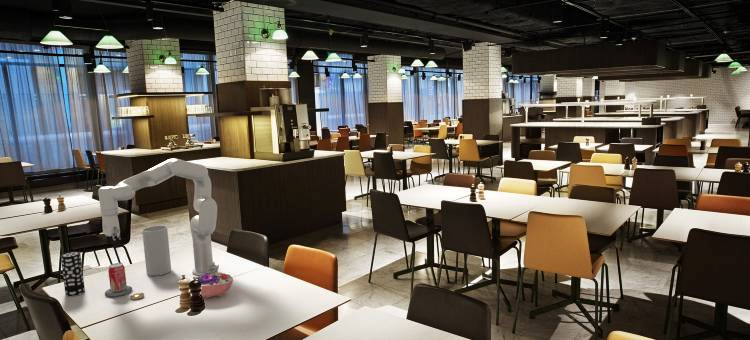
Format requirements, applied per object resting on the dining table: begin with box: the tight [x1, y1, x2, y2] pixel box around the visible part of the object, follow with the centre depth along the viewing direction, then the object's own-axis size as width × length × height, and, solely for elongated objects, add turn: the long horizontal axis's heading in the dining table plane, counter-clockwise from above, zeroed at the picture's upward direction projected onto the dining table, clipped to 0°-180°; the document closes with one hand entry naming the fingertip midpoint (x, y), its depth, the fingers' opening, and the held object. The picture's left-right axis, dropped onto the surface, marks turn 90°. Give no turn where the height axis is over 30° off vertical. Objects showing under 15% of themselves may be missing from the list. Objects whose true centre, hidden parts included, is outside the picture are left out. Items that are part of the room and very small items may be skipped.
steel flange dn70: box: [104, 285, 133, 298], centre depth 238 cm, size 12×12×2 cm
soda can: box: [107, 262, 128, 292], centre depth 237 cm, size 7×7×13 cm
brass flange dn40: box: [129, 292, 145, 301], centre depth 231 cm, size 6×6×1 cm
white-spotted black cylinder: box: [60, 251, 86, 297], centre depth 238 cm, size 8×8×20 cm
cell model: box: [195, 272, 234, 298], centre depth 230 cm, size 17×20×11 cm
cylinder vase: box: [141, 225, 172, 277], centre depth 264 cm, size 12×12×25 cm
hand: (113, 245), depth 235 cm, fingers open, 9 cm apart
